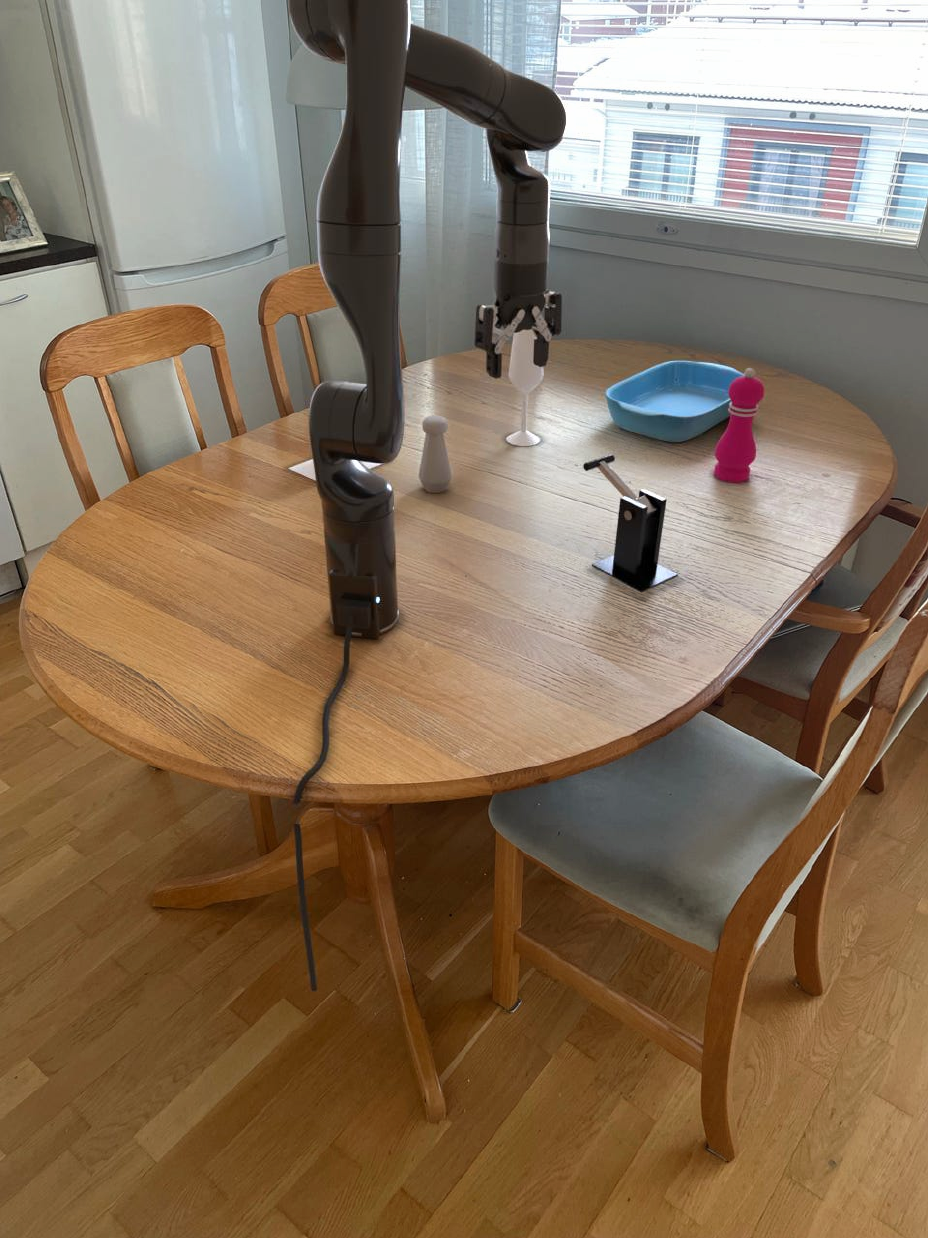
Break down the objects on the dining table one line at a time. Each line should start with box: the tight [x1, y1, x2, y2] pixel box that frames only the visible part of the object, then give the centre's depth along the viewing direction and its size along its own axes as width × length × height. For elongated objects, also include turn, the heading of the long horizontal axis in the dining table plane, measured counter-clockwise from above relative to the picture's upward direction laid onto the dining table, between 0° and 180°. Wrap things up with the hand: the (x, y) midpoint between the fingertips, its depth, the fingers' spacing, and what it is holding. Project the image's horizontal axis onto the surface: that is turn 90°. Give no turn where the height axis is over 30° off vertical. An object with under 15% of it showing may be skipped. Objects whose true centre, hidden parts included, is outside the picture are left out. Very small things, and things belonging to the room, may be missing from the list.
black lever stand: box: [591, 488, 679, 593], centre depth 135 cm, size 10×8×13 cm
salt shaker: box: [418, 415, 453, 494], centre depth 160 cm, size 6×6×13 cm
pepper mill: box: [713, 367, 765, 483], centre depth 164 cm, size 7×7×20 cm
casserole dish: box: [604, 360, 745, 443], centre depth 192 cm, size 37×22×7 cm, turn 140°
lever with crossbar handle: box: [582, 453, 656, 521], centre depth 134 cm, size 12×6×2 cm, turn 39°
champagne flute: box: [506, 329, 544, 447], centre depth 177 cm, size 7×7×24 cm
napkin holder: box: [287, 458, 382, 482], centre depth 170 cm, size 15×11×6 cm
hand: (517, 371), depth 135 cm, fingers open, 8 cm apart
